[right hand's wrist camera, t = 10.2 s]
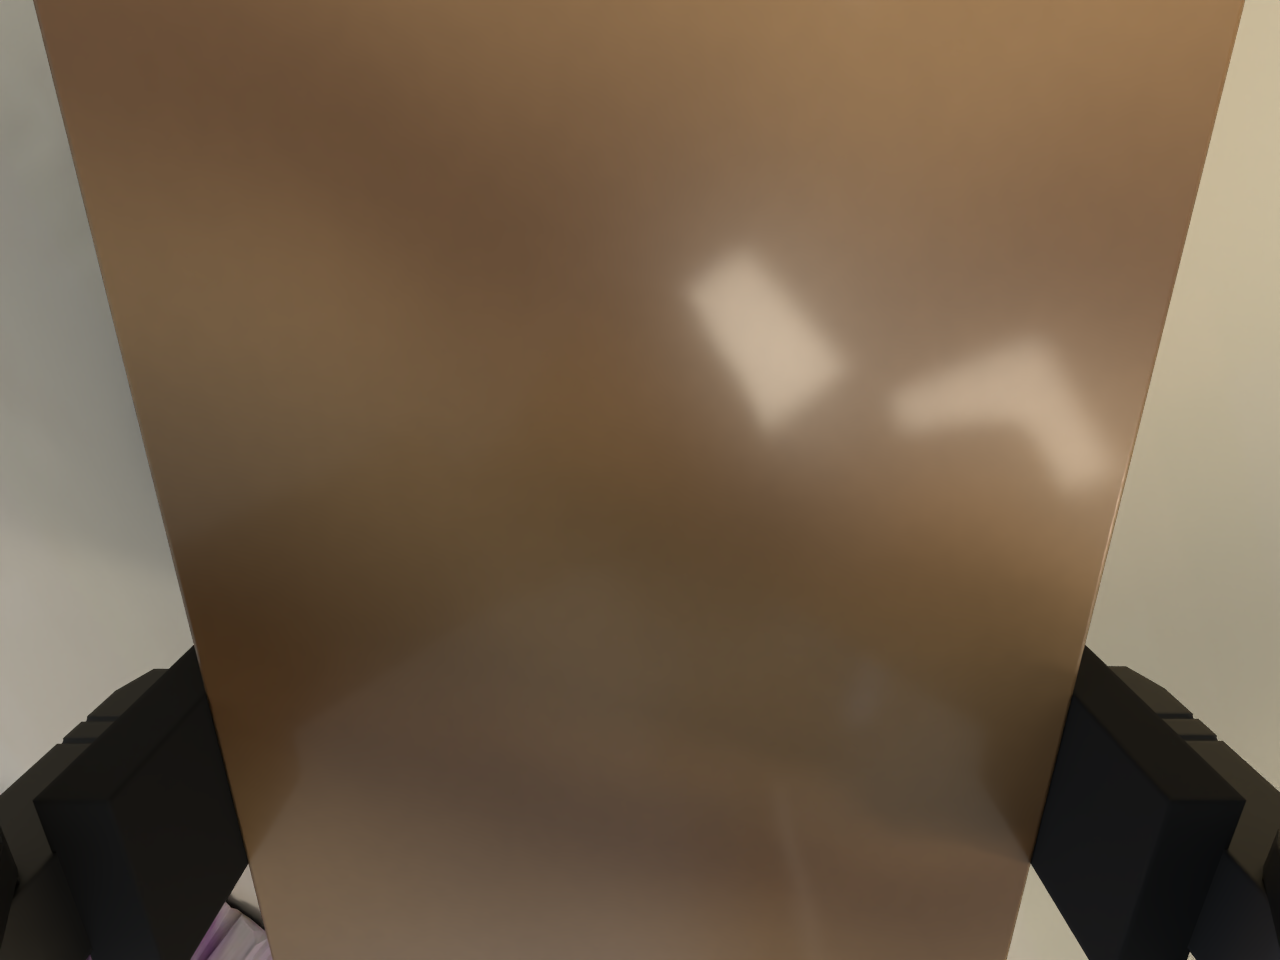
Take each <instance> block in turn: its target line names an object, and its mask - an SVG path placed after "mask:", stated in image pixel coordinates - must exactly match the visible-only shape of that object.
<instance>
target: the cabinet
mask: <svg viewBox="0 0 1280 960" xmlns="http://www.w3.org/2000/svg"><path fill="white" fill-rule="evenodd" d="M33 1H34V5H35V9H36V13H37V17H38V21H39V25H40V29H41V33H42V38H43V42H44V46H45V50H46V54H47V58H48V62H49V66H50V70H51V74H52V78H53V82H54V86H55V90H56V94H57V98H58V102H59V106H60V110H61V114H62V118H63V122H64V126H65V130H66V134H67V138H68V142H69V146H70V150H71V154H72V158H73V162H74V166H75V170H76V174H77V178H78V182H79V186H80V190H81V194H82V198H83V202H84V206H85V210H86V214H87V218H88V222H89V226H90V230H91V234H92V238H93V242H94V246H95V250H96V254H97V258H98V262H99V266H100V270H101V274H102V278H103V282H104V286H105V290H106V294H107V298H108V302H109V306H110V310H111V314H112V318H113V322H114V326H115V330H116V334H117V338H118V342H119V346H120V350H121V354H122V358H123V362H124V366H125V370H126V374H127V378H128V382H129V386H130V390H131V394H132V398H133V402H134V406H135V410H136V414H137V418H138V422H139V426H140V430H141V434H142V438H143V442H144V446H145V450H146V454H147V458H148V462H149V466H150V470H151V474H152V478H153V482H154V486H155V490H156V494H157V498H158V502H159V506H160V510H161V515H162V519H163V523H164V527H165V531H166V535H167V539H168V543H169V547H170V551H171V555H172V559H173V563H174V567H175V571H176V575H177V579H178V583H179V587H180V591H181V595H182V599H183V603H184V607H185V611H186V615H187V619H188V623H189V627H190V631H191V635H192V639H193V643H194V647H195V651H196V655H197V659H198V663H199V667H200V671H201V675H202V679H203V683H204V687H205V691H206V695H207V699H208V703H209V707H210V711H211V715H212V719H213V723H214V727H215V731H216V735H217V739H218V743H219V747H220V751H221V755H222V759H223V763H224V767H225V771H226V775H227V779H228V783H229V787H230V791H231V795H232V799H233V803H234V807H235V811H236V815H237V819H238V823H239V827H240V831H241V835H242V839H243V843H244V847H245V851H246V855H247V859H248V863H249V867H250V871H251V875H252V879H253V883H254V887H255V891H256V895H257V899H258V903H259V907H260V911H261V915H262V919H263V923H264V927H265V931H266V935H267V939H268V943H269V947H270V951H271V955H272V959H273V960H1007V956H1008V952H1009V948H1010V944H1011V940H1012V935H1013V931H1014V927H1015V923H1016V919H1017V915H1018V911H1019V907H1020V903H1021V899H1022V895H1023V891H1024V887H1025V883H1026V879H1027V875H1028V871H1029V867H1030V863H1031V859H1032V855H1033V851H1034V847H1035V843H1036V839H1037V835H1038V831H1039V827H1040V823H1041V819H1042V815H1043V811H1044V807H1045V803H1046V799H1047V795H1048V791H1049V787H1050V783H1051V779H1052V775H1053V771H1054V767H1055V763H1056V759H1057V755H1058V751H1059V747H1060V742H1061V738H1062V734H1063V730H1064V726H1065V722H1066V718H1067V714H1068V710H1069V706H1070V702H1071V698H1072V694H1073V690H1074V686H1075V682H1076V678H1077V674H1078V670H1079V666H1080V662H1081V658H1082V654H1083V650H1084V646H1085V642H1086V638H1087V634H1088V630H1089V626H1090V622H1091V618H1092V614H1093V610H1094V606H1095V602H1096V598H1097V594H1098V590H1099V586H1100V582H1101V578H1102V574H1103V570H1104V566H1105V562H1106V558H1107V554H1108V549H1109V545H1110V541H1111V537H1112V533H1113V529H1114V525H1115V521H1116V517H1117V513H1118V509H1119V505H1120V501H1121V497H1122V493H1123V489H1124V485H1125V481H1126V477H1127V473H1128V469H1129V465H1130V461H1131V457H1132V453H1133V449H1134V445H1135V441H1136V437H1137V433H1138V429H1139V425H1140V421H1141V417H1142V413H1143V409H1144V405H1145V401H1146V397H1147V393H1148V389H1149V385H1150V381H1151V377H1152V373H1153V369H1154V365H1155V361H1156V356H1157V352H1158V348H1159V344H1160V340H1161V336H1162V332H1163V328H1164V324H1165V320H1166V316H1167V312H1168V308H1169V304H1170V300H1171V296H1172V292H1173V288H1174V284H1175V280H1176V276H1177V272H1178V268H1179V264H1180V260H1181V256H1182V252H1183V248H1184V244H1185V240H1186V236H1187V232H1188V228H1189V224H1190V220H1191V216H1192V212H1193V208H1194V204H1195V200H1196V196H1197V192H1198V188H1199V184H1200V180H1201V176H1202V172H1203V168H1204V163H1205V159H1206V155H1207V151H1208V147H1209V143H1210V139H1211V135H1212V131H1213V127H1214V123H1215V119H1216V115H1217V111H1218V107H1219V103H1220V99H1221V95H1222V91H1223V87H1224V83H1225V79H1226V75H1227V71H1228V67H1229V63H1230V59H1231V55H1232V51H1233V47H1234V43H1235V39H1236V35H1237V31H1238V27H1239V23H1240V19H1241V15H1242V11H1243V7H1244V3H1245V0H33Z"/></svg>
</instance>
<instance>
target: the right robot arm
mask: <svg viewBox="0 0 1280 960" xmlns="http://www.w3.org/2000/svg"><path fill="white" fill-rule="evenodd" d="M1216 737H1217V735H1216V734H1214V733H1213V732H1212V731H1211V730H1210V729H1209V728H1208V727H1207V726H1206V725H1204V724H1203V723H1202V722H1201V721H1200V720H1199V719H1194V718H1193V714H1192V713H1191V712H1190V711H1189V710H1188V709H1187V708H1186V707H1184V706H1183V705H1182V704H1181V703H1180V702H1179V701H1178V700H1177V699H1176V698H1174V697H1173V696H1172V695H1171V694H1170V693H1169V692H1168V691H1167V690H1166V689H1165V688H1163V687H1161V686H1159V685H1158V684H1156V683H1154V682H1152V681H1151V680H1149V679H1147V678H1145V677H1144V676H1142V675H1140V674H1138V673H1137V672H1135V671H1133V670H1131V669H1130V668H1128V667H1126V666H1107V665H1106V664H1105V663H1104V662H1103V661H1101V660H1100V659H1099V658H1098V657H1097V656H1096V655H1095V654H1094V653H1093V652H1092V651H1091V650H1090V649H1089V648H1088V647H1087V646H1086V645H1085V646H1084V650H1083V654H1082V658H1081V662H1080V666H1079V670H1078V674H1077V678H1076V682H1075V686H1074V690H1073V694H1072V698H1071V702H1070V706H1069V710H1068V714H1067V718H1066V722H1065V726H1064V730H1063V734H1062V738H1061V742H1060V747H1059V751H1058V755H1057V759H1056V763H1055V767H1054V771H1053V775H1052V779H1051V783H1050V787H1049V791H1048V795H1047V799H1046V803H1045V807H1044V811H1043V815H1042V819H1041V823H1040V827H1039V831H1038V835H1037V839H1036V843H1035V847H1034V851H1033V855H1032V859H1031V865H1032V866H1033V868H1034V870H1035V871H1036V873H1037V874H1038V876H1039V878H1040V879H1041V881H1042V883H1043V884H1044V886H1045V888H1046V889H1047V891H1048V893H1049V894H1050V896H1051V898H1052V899H1053V901H1054V903H1055V904H1056V906H1057V908H1058V909H1059V911H1060V913H1061V914H1062V916H1063V918H1064V919H1065V921H1066V923H1067V924H1068V926H1069V928H1070V929H1071V931H1072V933H1073V934H1074V936H1075V937H1076V939H1077V941H1078V942H1079V944H1080V946H1081V947H1082V949H1083V951H1084V952H1085V954H1086V956H1087V957H1088V959H1089V960H1187V958H1188V955H1189V953H1190V952H1191V953H1192V955H1193V956H1194V957H1195V959H1196V960H1280V792H1279V791H1278V790H1277V789H1275V788H1274V787H1273V786H1272V785H1271V784H1270V783H1269V782H1268V781H1267V780H1265V779H1264V778H1263V777H1262V776H1261V775H1260V774H1259V773H1258V772H1257V771H1255V770H1254V769H1253V768H1252V767H1251V766H1250V765H1249V764H1248V763H1247V762H1246V761H1244V760H1243V759H1242V758H1241V757H1240V756H1239V755H1238V754H1237V753H1236V752H1234V751H1233V750H1232V749H1231V748H1230V747H1229V746H1228V745H1227V744H1226V743H1224V742H1223V741H1218V740H1217V738H1216ZM247 865H248V859H247V855H246V851H245V847H244V843H243V839H242V835H241V831H240V827H239V823H238V819H237V815H236V811H235V807H234V803H233V799H232V795H231V791H230V787H229V783H228V779H227V775H226V771H225V767H224V763H223V759H222V755H221V751H220V747H219V743H218V739H217V735H216V731H215V727H214V723H213V719H212V715H211V711H210V707H209V703H208V699H207V695H206V691H205V687H204V683H203V679H202V675H201V671H200V667H199V663H198V659H197V655H196V651H195V647H194V645H193V646H192V647H191V648H190V649H189V650H188V651H187V652H186V653H185V654H184V655H183V656H182V657H181V658H180V659H179V660H178V661H177V662H176V663H175V664H174V665H173V666H171V667H170V668H169V669H153V670H151V671H149V672H148V673H146V674H144V675H142V676H141V677H139V678H137V679H135V680H134V681H132V682H130V683H128V684H127V685H125V686H123V687H121V688H120V689H118V690H116V691H115V692H114V693H113V694H112V695H110V696H109V697H108V698H107V699H106V700H105V701H104V702H103V703H102V704H101V705H99V706H98V707H97V708H96V709H95V710H94V711H93V712H92V713H91V714H89V715H88V716H87V721H86V722H81V723H80V724H78V725H77V726H76V727H75V728H74V729H73V730H72V731H71V732H70V733H69V734H67V735H66V736H65V737H64V738H63V743H62V744H56V745H55V746H54V747H53V748H52V749H51V750H50V751H49V752H48V753H46V754H45V755H44V756H43V757H42V758H41V759H40V760H39V761H38V762H37V763H35V764H34V765H33V766H32V767H31V768H30V769H29V770H28V771H27V772H26V773H24V774H23V775H22V776H21V777H20V778H19V779H18V780H17V781H16V782H15V783H13V784H12V785H11V786H10V787H9V788H8V789H7V790H6V791H5V792H3V793H2V794H1V795H0V960H86V959H87V958H88V956H89V955H91V958H92V960H190V959H191V958H192V956H193V954H194V953H195V951H196V949H197V948H198V946H199V944H200V943H201V941H202V940H203V938H204V936H205V935H206V933H207V931H208V930H209V928H210V926H211V925H212V923H213V921H214V920H215V918H216V916H217V915H218V913H219V911H220V910H221V908H222V906H223V905H224V903H225V901H226V900H227V898H228V896H229V895H230V893H231V891H232V890H233V888H234V886H235V885H236V883H237V882H238V880H239V878H240V877H241V875H242V873H243V872H244V870H245V868H246V867H247Z"/></svg>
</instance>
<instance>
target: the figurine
mask: <svg viewBox="0 0 1280 960" xmlns="http://www.w3.org/2000/svg"><path fill="white" fill-rule="evenodd" d="M86 960H92V958H91V955H89V956H88V958H87V959H86ZM190 960H273V959H272V955H271V951H270V947H269V943H268V939H267V935H266V931H264V930H263V929H262V928H261V927H260V926H259V925H257V924H256V923H255V922H254V921H253V920H251V919H250V918H249V917H247V916H245V915H244V914H242V913H241V912H240V911H239V910H237V909H234V908H231V907H230V906H229V905H228V904H227V903H226V902H225V903H224V905H223V906H222V908H221V910H220V911H219V913H218V915H217V916H216V918H215V920H214V921H213V923H212V925H211V926H210V928H209V930H208V931H207V933H206V935H205V936H204V938H203V940H202V941H201V943H200V944H199V946H198V948H197V949H196V951H195V953H194V954H193V956H192V958H191V959H190Z"/></svg>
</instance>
